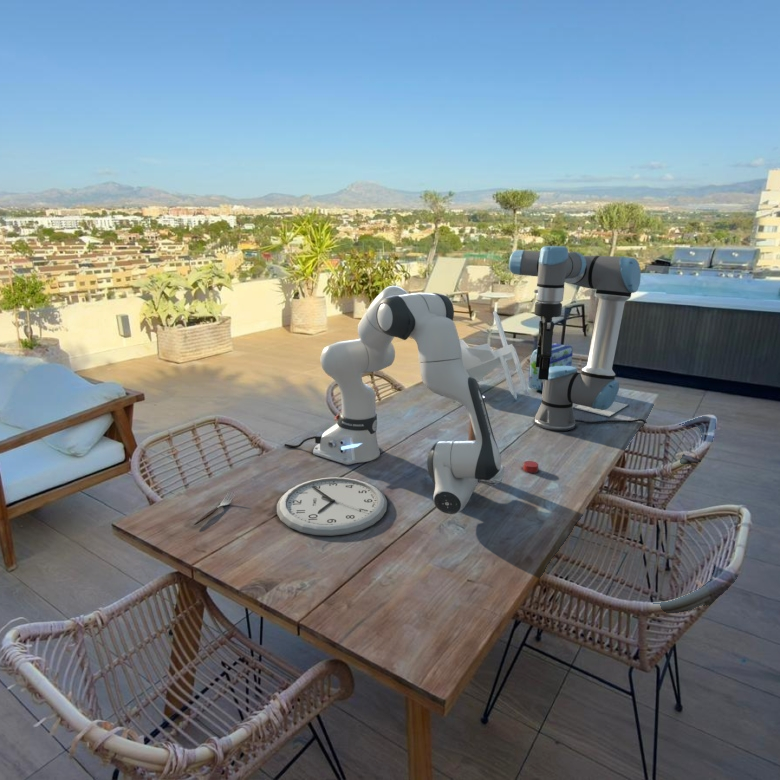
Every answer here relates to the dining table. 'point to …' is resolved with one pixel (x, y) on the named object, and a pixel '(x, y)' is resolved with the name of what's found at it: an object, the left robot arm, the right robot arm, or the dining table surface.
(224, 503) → the fork
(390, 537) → the dining table surface
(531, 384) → the lunch box
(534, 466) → the cap
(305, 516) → the wall clock
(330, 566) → the dining table surface
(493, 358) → the white plastic object
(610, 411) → the invitation card
